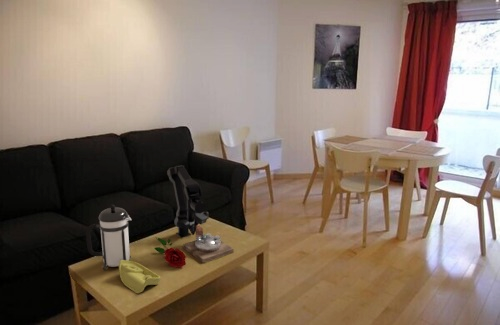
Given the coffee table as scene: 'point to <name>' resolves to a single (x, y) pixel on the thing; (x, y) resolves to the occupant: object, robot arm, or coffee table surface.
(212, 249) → the round disc with cubes
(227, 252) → the square disc baseplate
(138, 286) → the plastic component
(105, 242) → the coffee press
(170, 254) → the flower
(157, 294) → the coffee table surface
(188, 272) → the coffee table surface
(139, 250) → the coffee table surface
